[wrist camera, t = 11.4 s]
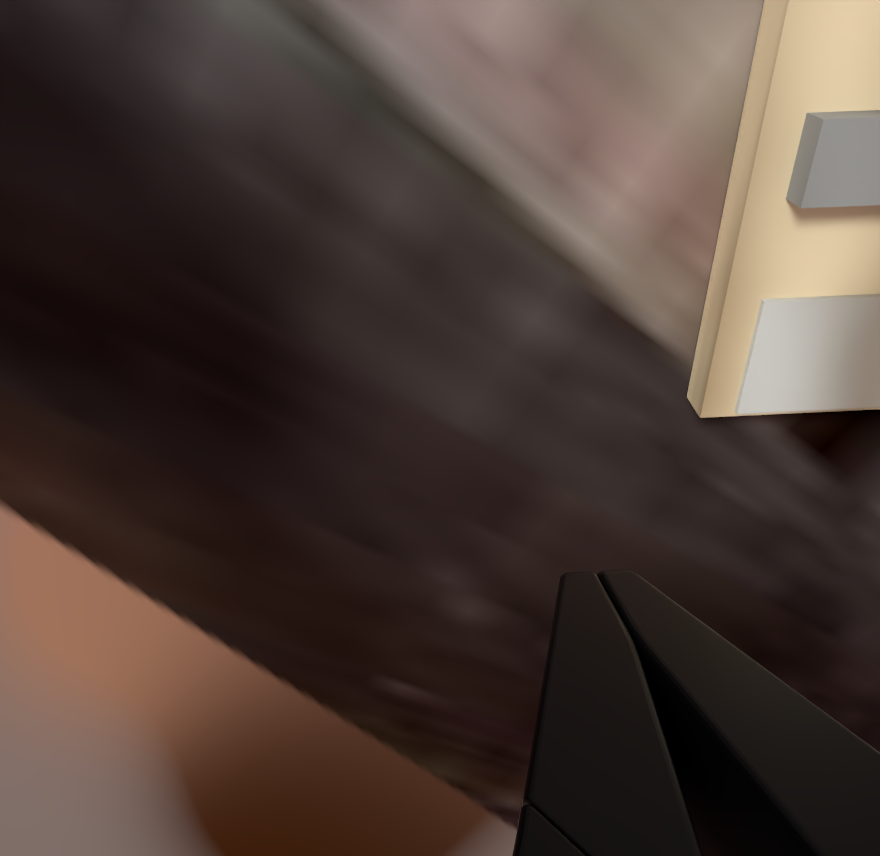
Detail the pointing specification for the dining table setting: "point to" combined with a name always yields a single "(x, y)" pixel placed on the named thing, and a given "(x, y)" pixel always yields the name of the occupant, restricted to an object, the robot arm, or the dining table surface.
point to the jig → (800, 224)
